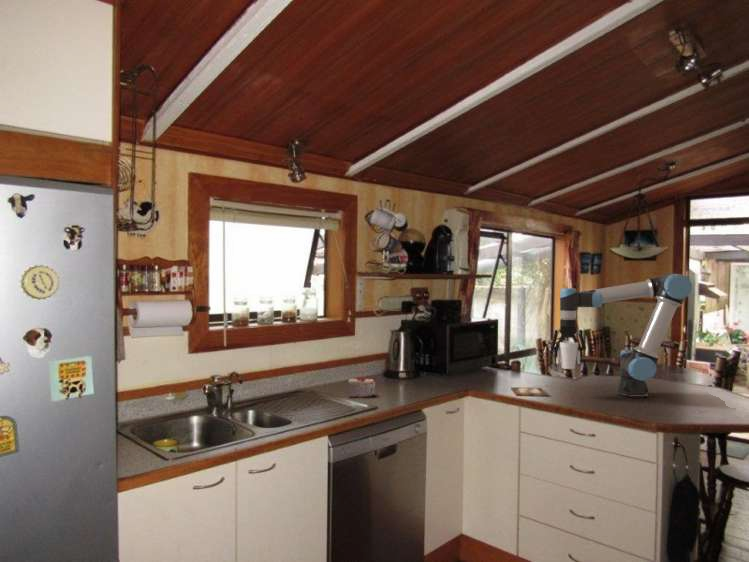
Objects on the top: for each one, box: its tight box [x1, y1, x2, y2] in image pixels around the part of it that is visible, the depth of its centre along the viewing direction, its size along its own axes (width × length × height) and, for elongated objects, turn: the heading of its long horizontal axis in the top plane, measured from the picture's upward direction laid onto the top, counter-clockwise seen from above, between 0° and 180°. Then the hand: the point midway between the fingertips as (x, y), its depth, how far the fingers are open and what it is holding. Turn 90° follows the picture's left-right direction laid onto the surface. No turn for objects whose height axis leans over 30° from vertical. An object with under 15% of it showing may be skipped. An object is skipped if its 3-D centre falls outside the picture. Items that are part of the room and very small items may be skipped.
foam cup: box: [558, 340, 579, 370], centre depth 270 cm, size 10×9×13 cm
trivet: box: [510, 386, 550, 398], centre depth 279 cm, size 16×16×1 cm
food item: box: [346, 376, 376, 398], centre depth 270 cm, size 14×8×10 cm, turn 96°
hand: (568, 363), depth 270 cm, fingers closed on foam cup, 9 cm apart
